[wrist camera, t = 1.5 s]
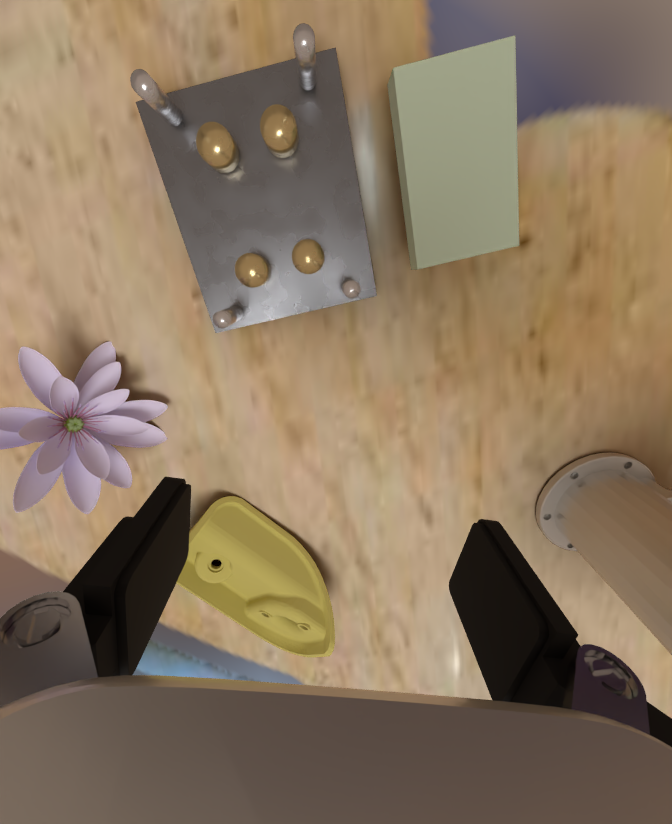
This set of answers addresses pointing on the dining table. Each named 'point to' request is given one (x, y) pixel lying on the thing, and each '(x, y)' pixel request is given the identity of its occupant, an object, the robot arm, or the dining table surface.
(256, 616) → the plastic component
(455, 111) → the board
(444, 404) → the dining table surface
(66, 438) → the water lily
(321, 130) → the chassis
